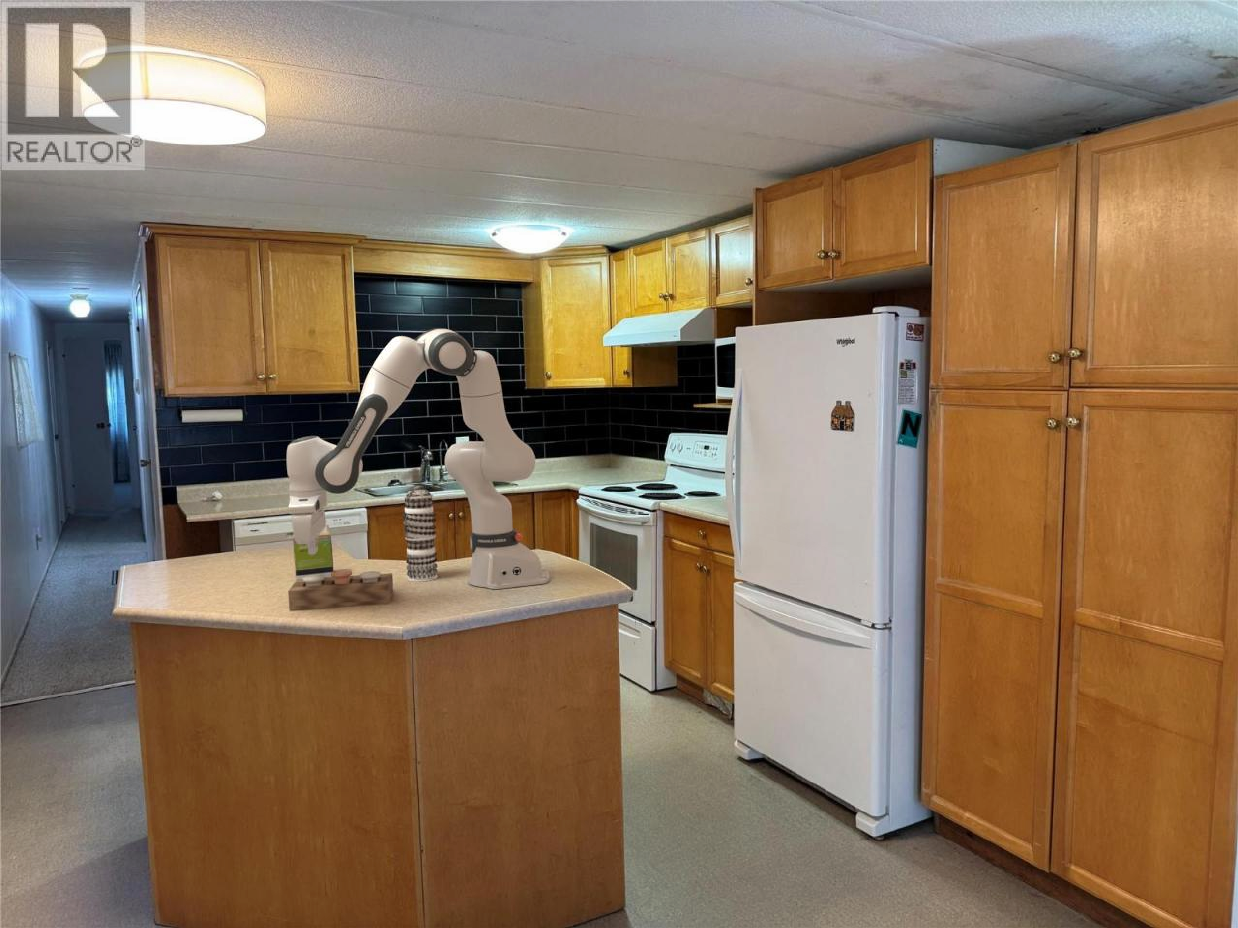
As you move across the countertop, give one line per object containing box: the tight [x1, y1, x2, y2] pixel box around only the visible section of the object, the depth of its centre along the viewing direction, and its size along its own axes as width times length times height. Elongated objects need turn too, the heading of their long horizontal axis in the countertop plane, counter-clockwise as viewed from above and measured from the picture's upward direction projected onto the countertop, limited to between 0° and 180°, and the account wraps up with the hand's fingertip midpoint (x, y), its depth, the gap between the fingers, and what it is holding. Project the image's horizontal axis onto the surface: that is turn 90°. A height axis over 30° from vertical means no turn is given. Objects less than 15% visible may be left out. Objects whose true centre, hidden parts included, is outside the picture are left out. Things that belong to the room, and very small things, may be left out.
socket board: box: [287, 572, 394, 611], centre depth 215 cm, size 24×12×5 cm, turn 100°
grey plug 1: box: [302, 575, 324, 586], centre depth 214 cm, size 5×5×5 cm
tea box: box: [292, 524, 334, 582], centre depth 236 cm, size 15×10×15 cm, turn 21°
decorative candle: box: [402, 489, 439, 583], centre depth 236 cm, size 9×9×25 cm
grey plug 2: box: [358, 570, 381, 583], centre depth 216 cm, size 5×5×5 cm
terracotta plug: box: [331, 568, 353, 585], centre depth 215 cm, size 5×5×5 cm
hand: (313, 553), depth 214 cm, fingers closed
